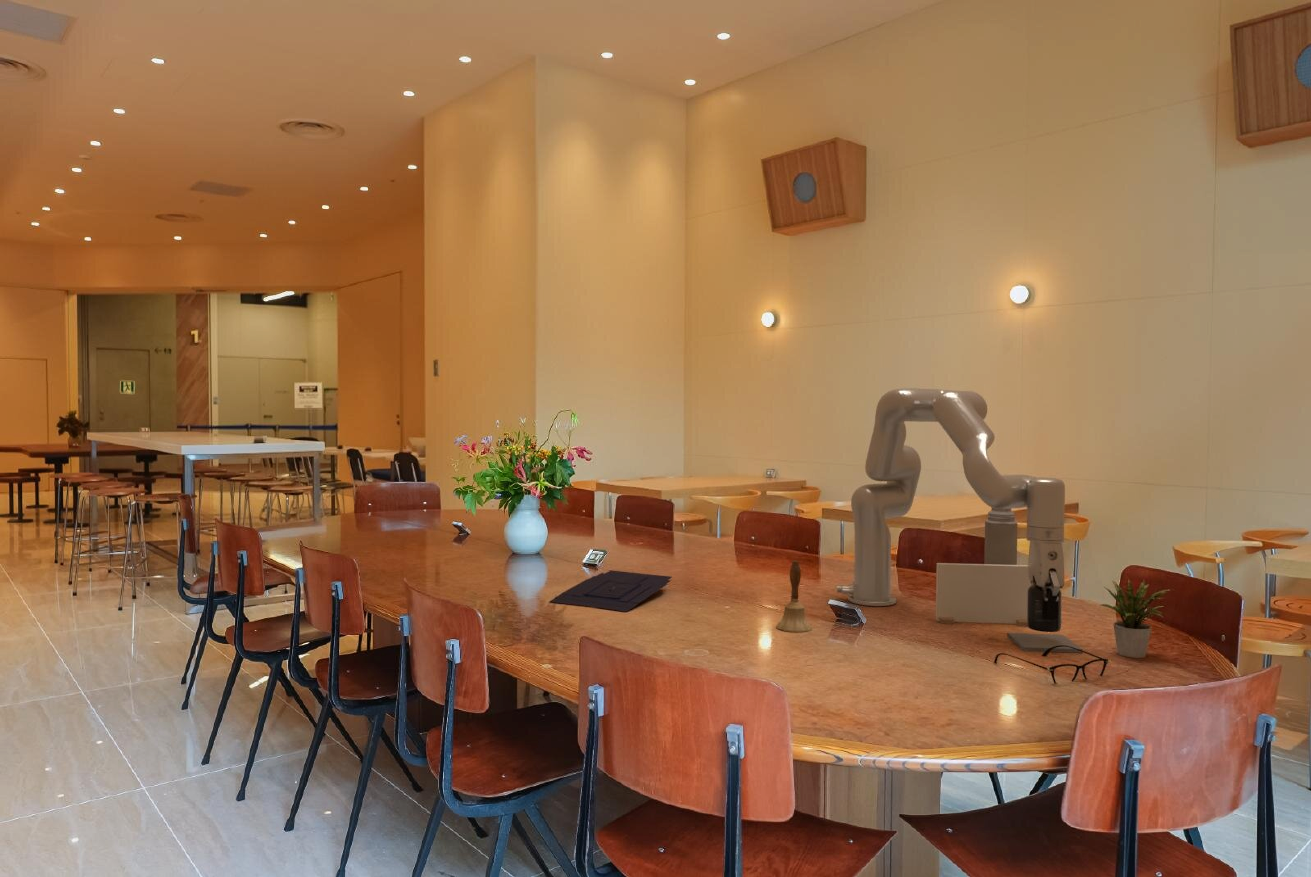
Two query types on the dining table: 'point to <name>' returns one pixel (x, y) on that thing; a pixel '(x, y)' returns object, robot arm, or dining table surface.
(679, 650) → the dining table surface
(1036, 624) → the supplement bottle
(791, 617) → the hand bell
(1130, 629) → the house plant
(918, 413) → the robot arm
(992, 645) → the dining table surface
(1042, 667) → the eyeglasses
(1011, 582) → the screen
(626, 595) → the black flat stepped slab
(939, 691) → the dining table surface
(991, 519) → the thermos bottle
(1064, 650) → the pad
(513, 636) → the dining table surface
